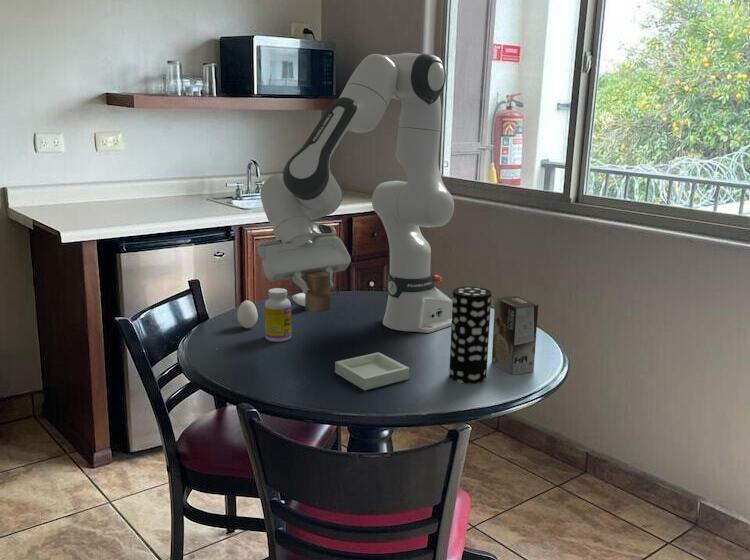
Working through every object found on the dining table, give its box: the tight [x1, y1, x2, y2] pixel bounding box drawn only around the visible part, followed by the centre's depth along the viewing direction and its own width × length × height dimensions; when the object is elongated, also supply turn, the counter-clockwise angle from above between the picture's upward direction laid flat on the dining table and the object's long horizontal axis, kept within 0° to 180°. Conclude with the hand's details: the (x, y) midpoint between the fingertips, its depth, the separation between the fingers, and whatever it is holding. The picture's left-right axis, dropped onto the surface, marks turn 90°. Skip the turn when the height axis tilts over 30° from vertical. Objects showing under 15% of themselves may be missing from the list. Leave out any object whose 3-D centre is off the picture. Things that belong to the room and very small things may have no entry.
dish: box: [334, 351, 411, 391], centre depth 161 cm, size 12×12×3 cm
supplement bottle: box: [264, 287, 292, 343], centre depth 184 cm, size 7×7×13 cm
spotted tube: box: [448, 286, 492, 385], centre depth 160 cm, size 8×8×20 cm
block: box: [304, 271, 331, 314], centre depth 157 cm, size 4×4×8 cm
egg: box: [236, 299, 259, 329], centre depth 192 cm, size 5×5×8 cm
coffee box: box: [491, 295, 539, 376], centre depth 166 cm, size 9×6×16 cm
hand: (319, 290), depth 156 cm, fingers closed on block, 4 cm apart
